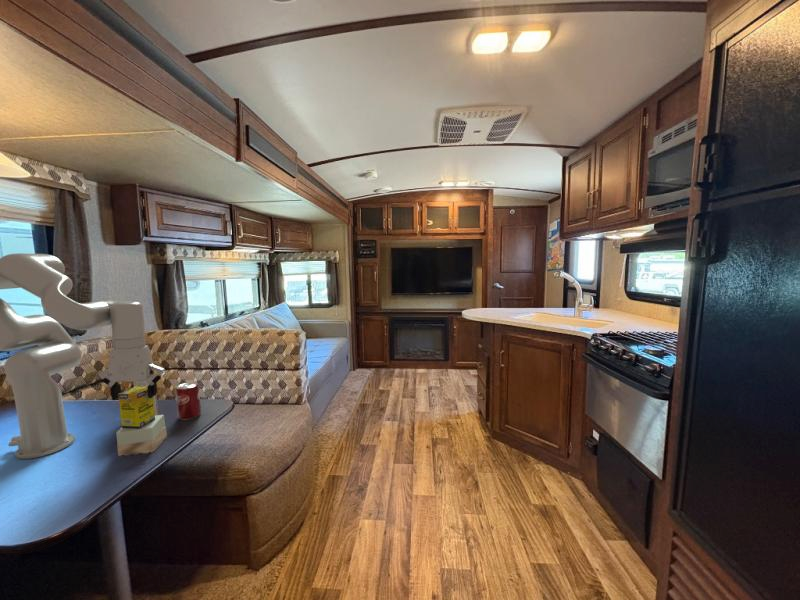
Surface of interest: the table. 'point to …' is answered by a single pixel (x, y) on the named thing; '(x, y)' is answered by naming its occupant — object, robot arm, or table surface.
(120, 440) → the tower top block
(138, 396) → the supplement box
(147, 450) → the tower base block
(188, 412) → the soda can
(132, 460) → the table surface
